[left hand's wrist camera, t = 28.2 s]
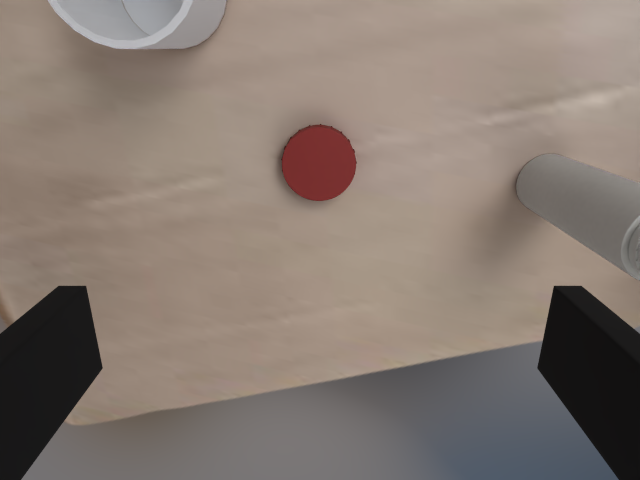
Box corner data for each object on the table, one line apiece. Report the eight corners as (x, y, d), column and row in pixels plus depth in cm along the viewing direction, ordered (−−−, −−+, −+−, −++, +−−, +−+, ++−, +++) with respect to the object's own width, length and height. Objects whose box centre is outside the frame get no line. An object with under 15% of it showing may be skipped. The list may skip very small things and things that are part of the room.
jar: (505, 200, 39) (619, 279, 24) (533, 145, 38) (674, 193, 23) (556, 218, 40) (698, 306, 25) (586, 165, 38) (757, 225, 23)
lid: (369, 150, 38) (371, 153, 36) (329, 209, 40) (330, 215, 38) (307, 109, 37) (307, 110, 35) (269, 172, 38) (267, 176, 37)
